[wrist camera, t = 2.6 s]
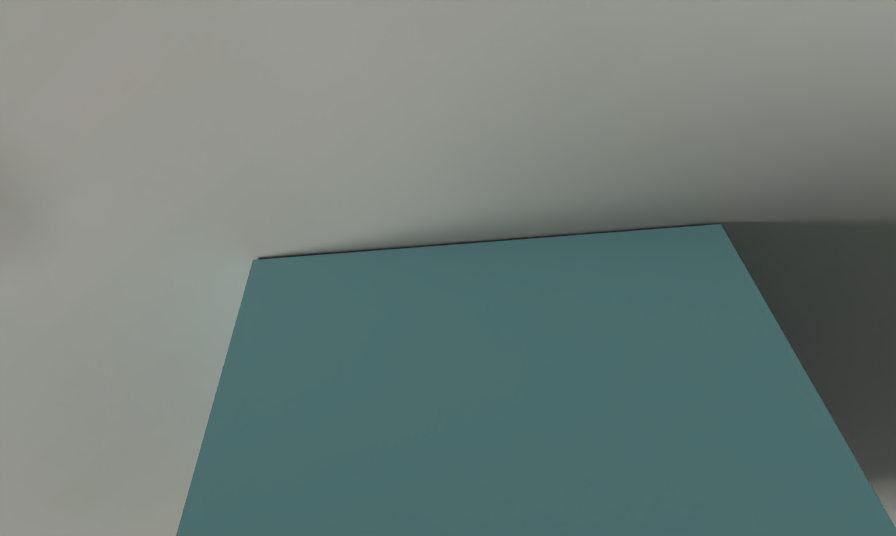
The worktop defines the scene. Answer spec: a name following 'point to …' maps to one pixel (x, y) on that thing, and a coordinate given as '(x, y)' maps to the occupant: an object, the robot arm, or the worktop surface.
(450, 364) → the turquoise upright block
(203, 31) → the worktop surface
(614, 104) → the worktop surface
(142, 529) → the worktop surface
